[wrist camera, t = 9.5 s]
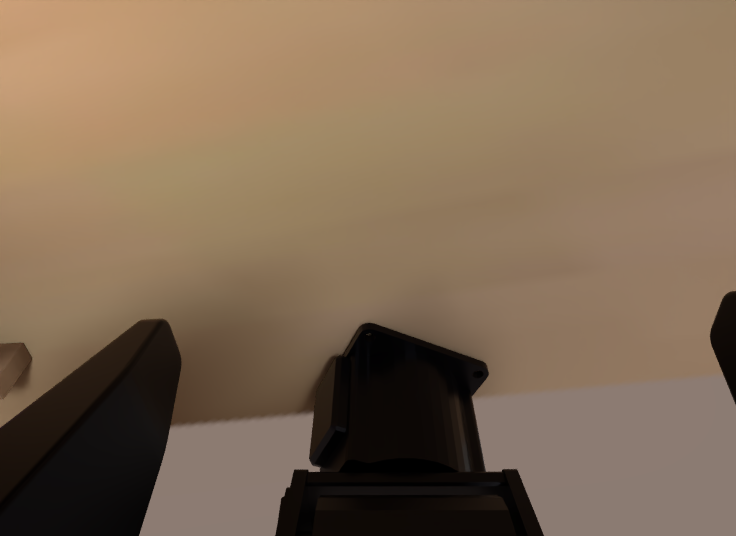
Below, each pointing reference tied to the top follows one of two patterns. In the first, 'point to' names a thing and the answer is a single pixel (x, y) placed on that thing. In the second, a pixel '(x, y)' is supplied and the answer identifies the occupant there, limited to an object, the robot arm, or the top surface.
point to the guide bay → (12, 365)
